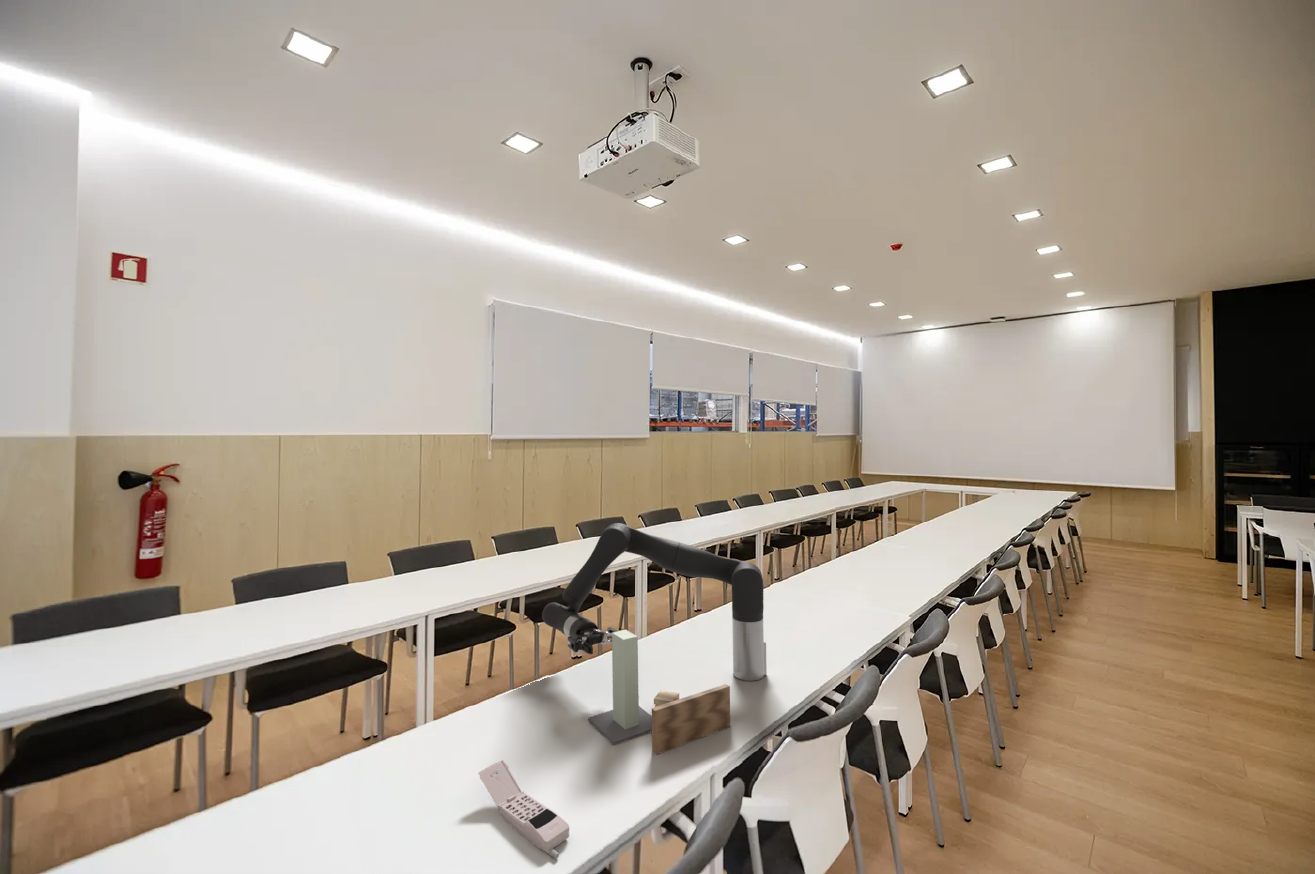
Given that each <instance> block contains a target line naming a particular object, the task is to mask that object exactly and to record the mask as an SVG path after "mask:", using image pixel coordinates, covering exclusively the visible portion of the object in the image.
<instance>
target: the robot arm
mask: <svg viewBox="0 0 1315 874" xmlns="http://www.w3.org/2000/svg"><path fill="white" fill-rule="evenodd" d="M624 553H631V554H633V555H638V556H641V557H644V558H646V559H647V560H649V561H651V562H652V563H654V564H656V566H657V565H658V567H660V568H662V569H664V570H666V571H670V572H672V573H675V574H678V575H681V576H685V577H686V576H687V577H690V578H692V577H693V578H699V579H702V578H704V579H713V580H716V581H717V580H718V581H720V582H723V583H726V584H728V585H731V614H732V615H731V616H732V619H731V620H732V669H733V670H732V672H733V673H732V674H733V676H734V677H735V678H737V679H738V680H743V681H746V682H747V681H749V682H750V681H751V682H752V681H753V682H754V681H758V680H759V681H760V680H762V679H763V678H764V677H765V675H767V642H766V641H764V639H765V638H764V609H765V608H764V578H763V573H762V572H761V570H760V568H759V567H758V566H757V565H756V564H754V563H752V562H749V561H745V560H740V559H734V558H729V557H723V556H720V555H718V554H715V553H712V552H709V551H707V550H704V549H702V548H699V547H695V546H693V545H690V544H687V543H683V542H679V541H675V540H671V539H669V538H665V537H661V536H658V535H657V536H656V535H652V534H650V533H649V534H648V533H646V532H644V531H641V530H638V529H636V528H634V527H631V526H629V525H627V524H624V523H622V522H615V523H612V524H609V525H608V526H607V527H606V528H604V530H603V531H602V532H601V533H600V536H599V538H598V541H597V542H596V545H595V546H594V549H593V551H592V552H591V554H590V556H589V557H588V559H587V561H586V562H585V563H584V565H583V566H582V567H581V568H580V569H579V570H578V571H577V573H576V574H575V575H574V577H573V578H572V580H571V581H570V582H569V584H567V586H566V587H565V589H564V591H563V592H562V594H561V595H562V596H561V597H562V601H564V602H565V604H567V606H565V605H563V604H560V603H558V602H556V601H555V602H549V603H548V604H546V605H545V606H544V607H543V610H542V612H541V618H542V620H543V623H544V624H546V625H547V626H549V627H551V628H553V629H555V630H557V631H559V632H561V634H563V635H564V636H566V637H567V647H568V648H569V649H570V650H571V651H573V652H574V653H579V651H581V652H584V653H585V654H588V655H593V654H594V649H593V648H594V647H593V646H594V645H604V646H605V645H608V644H612V633H613V632H617V631H618V630H617V629H615V628H613V627H611V626H609V627H607V630H603V629H599V627H598V625H597V624H596V623H595V622H594V621H592V620H590V619H588V618H586V617H585V616H584V615H580V614H579V611H580V609H581V607H582V604H583V603H584V602H585V600H586V599H587V598H588V596H589V595H590V593H591V592H592V591H593V589H594V588H595V586H596V585H597V583H598V581H599V580H600V578H601V576H602V575H603V574H604V572H605V571H606V570H607V568H608V567H609V566H610V565H611V564H612V563H613V562H614V561H616V559H618V557H620V556H621V555H622V554H624Z"/></svg>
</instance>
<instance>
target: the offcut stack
mask: <svg viewBox="0 0 1315 874" xmlns="http://www.w3.org/2000/svg"><path fill="white" fill-rule="evenodd" d="M678 699H680V692H675V691H668V690H663V689H661V690H660V691H659V692H658V693H657V694H656V695H655V697H654V698H653V705H654V707H657V706H660V705H663V704H666V703H669V702H672V701H675V700H678Z"/></svg>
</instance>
